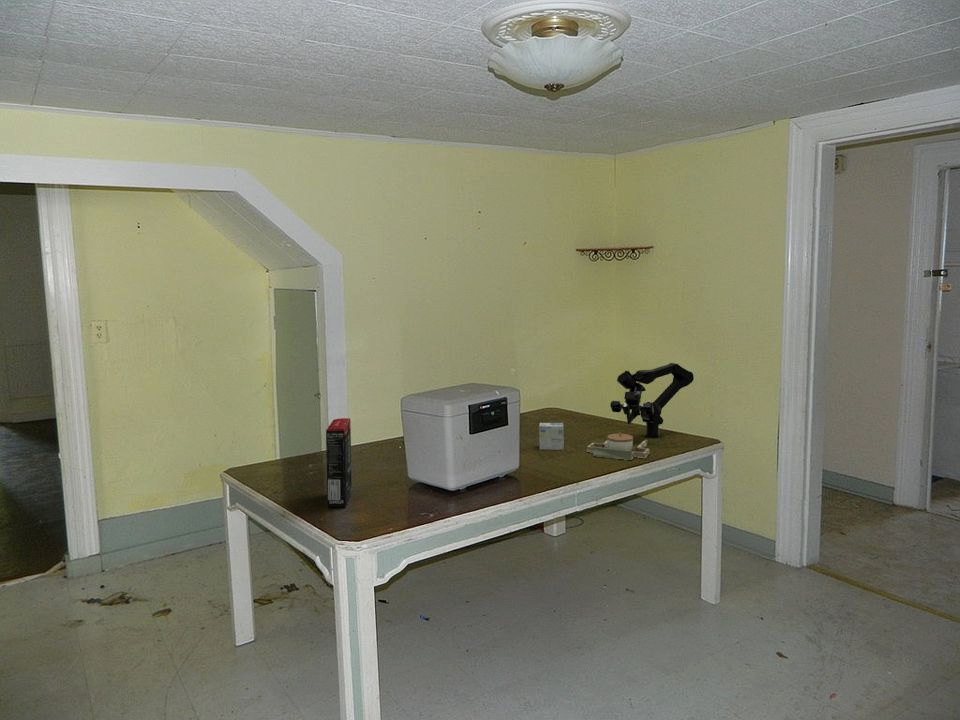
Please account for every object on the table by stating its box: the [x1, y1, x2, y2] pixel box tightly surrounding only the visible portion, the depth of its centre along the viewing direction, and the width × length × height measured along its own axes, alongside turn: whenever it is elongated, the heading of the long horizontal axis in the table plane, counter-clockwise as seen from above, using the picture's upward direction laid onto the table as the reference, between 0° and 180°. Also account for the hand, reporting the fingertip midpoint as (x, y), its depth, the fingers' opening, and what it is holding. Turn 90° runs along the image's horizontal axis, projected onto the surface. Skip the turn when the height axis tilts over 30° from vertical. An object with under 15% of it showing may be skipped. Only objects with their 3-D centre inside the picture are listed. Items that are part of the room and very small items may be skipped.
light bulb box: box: [538, 422, 565, 451], centre depth 311 cm, size 11×7×11 cm, turn 84°
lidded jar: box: [606, 432, 634, 451], centre depth 300 cm, size 11×11×9 cm
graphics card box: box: [325, 417, 353, 508], centre depth 243 cm, size 17×7×27 cm, turn 4°
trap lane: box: [586, 439, 651, 461], centre depth 306 cm, size 28×25×4 cm
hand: (628, 423), depth 314 cm, fingers closed
